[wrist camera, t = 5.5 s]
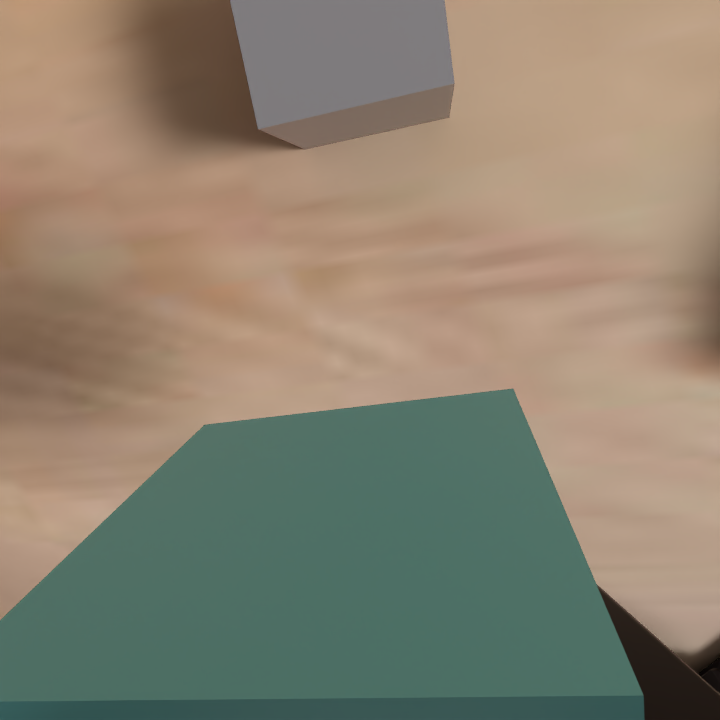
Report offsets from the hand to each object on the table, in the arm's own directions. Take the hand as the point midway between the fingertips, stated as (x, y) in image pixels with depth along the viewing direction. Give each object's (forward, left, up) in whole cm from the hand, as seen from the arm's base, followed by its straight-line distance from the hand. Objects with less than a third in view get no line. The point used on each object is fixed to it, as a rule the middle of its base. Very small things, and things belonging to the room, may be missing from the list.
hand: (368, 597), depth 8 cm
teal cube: (0, 0, -1) cm, 1 cm away
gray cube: (+7, -8, -13) cm, 16 cm away
